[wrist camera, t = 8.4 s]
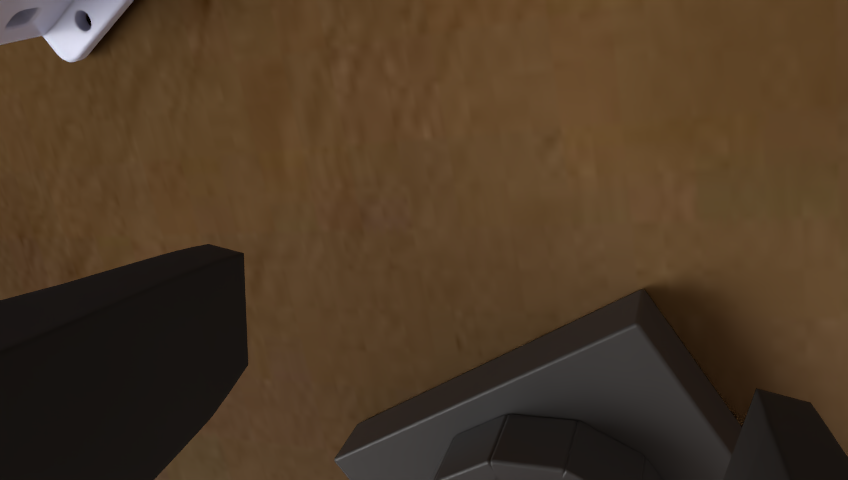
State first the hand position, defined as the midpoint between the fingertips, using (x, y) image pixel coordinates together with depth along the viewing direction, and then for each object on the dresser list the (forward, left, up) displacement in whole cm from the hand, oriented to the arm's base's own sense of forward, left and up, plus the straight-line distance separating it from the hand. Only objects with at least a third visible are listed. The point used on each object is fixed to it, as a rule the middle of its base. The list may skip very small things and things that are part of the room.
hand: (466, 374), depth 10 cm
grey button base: (-5, -7, -8) cm, 12 cm away
